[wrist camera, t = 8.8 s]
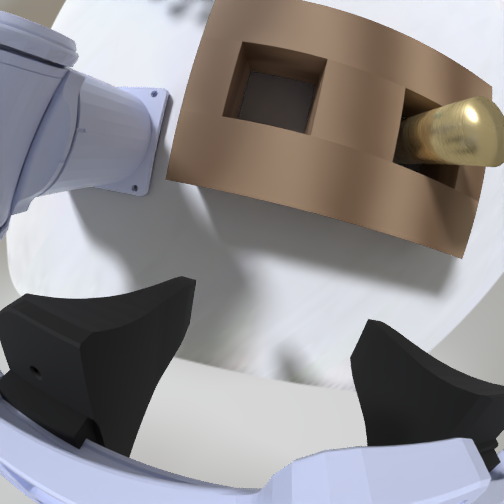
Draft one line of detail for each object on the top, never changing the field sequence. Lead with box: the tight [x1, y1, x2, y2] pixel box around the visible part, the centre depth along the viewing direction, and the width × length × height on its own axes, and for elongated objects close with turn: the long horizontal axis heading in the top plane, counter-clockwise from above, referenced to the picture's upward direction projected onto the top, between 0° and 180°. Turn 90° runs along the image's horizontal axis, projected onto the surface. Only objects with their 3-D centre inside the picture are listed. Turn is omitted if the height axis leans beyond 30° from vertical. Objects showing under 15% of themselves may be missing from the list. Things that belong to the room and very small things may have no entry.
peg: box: [392, 96, 504, 167], centre depth 12 cm, size 3×3×10 cm
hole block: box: [166, 0, 492, 259], centre depth 15 cm, size 18×12×5 cm, turn 77°
